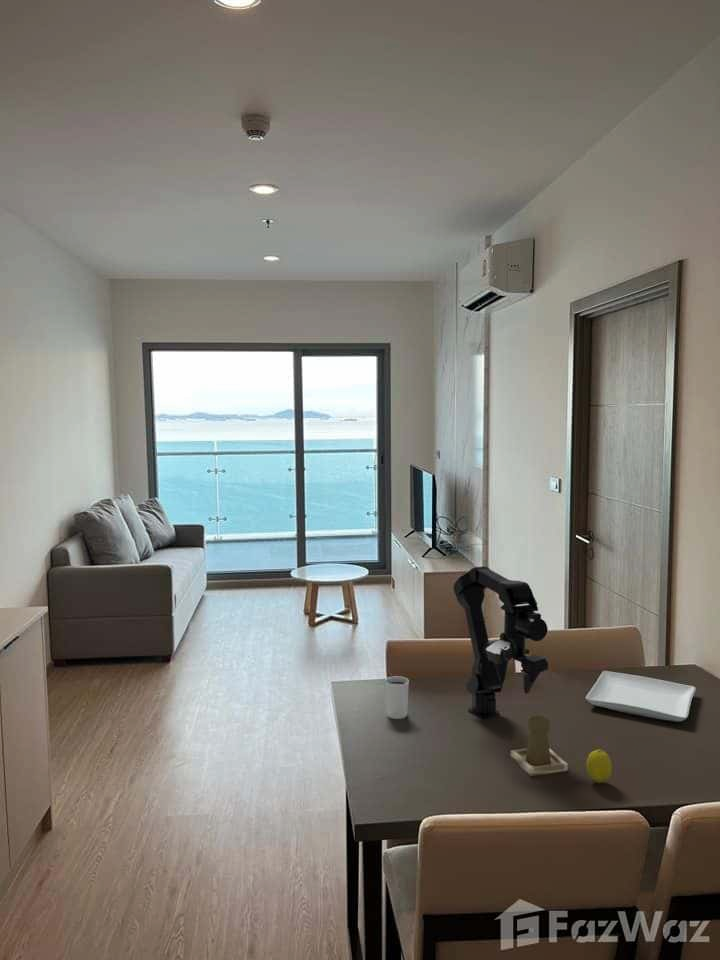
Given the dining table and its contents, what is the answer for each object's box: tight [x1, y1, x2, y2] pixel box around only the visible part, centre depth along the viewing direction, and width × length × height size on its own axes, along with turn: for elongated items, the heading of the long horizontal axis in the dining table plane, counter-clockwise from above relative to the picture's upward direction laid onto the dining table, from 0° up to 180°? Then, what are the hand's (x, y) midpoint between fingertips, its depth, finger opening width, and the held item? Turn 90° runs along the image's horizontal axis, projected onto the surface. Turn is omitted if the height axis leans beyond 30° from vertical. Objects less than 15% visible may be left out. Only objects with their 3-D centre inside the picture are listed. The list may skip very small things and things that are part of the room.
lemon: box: [585, 748, 613, 784], centre depth 167 cm, size 6×6×8 cm
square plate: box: [585, 670, 697, 723], centre depth 214 cm, size 27×27×4 cm
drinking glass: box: [384, 675, 410, 720], centre depth 205 cm, size 7×7×10 cm
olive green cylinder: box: [526, 715, 551, 766], centre depth 176 cm, size 6×6×11 cm
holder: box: [510, 747, 569, 777], centre depth 176 cm, size 10×10×2 cm
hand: (514, 687), depth 191 cm, fingers open, 9 cm apart
